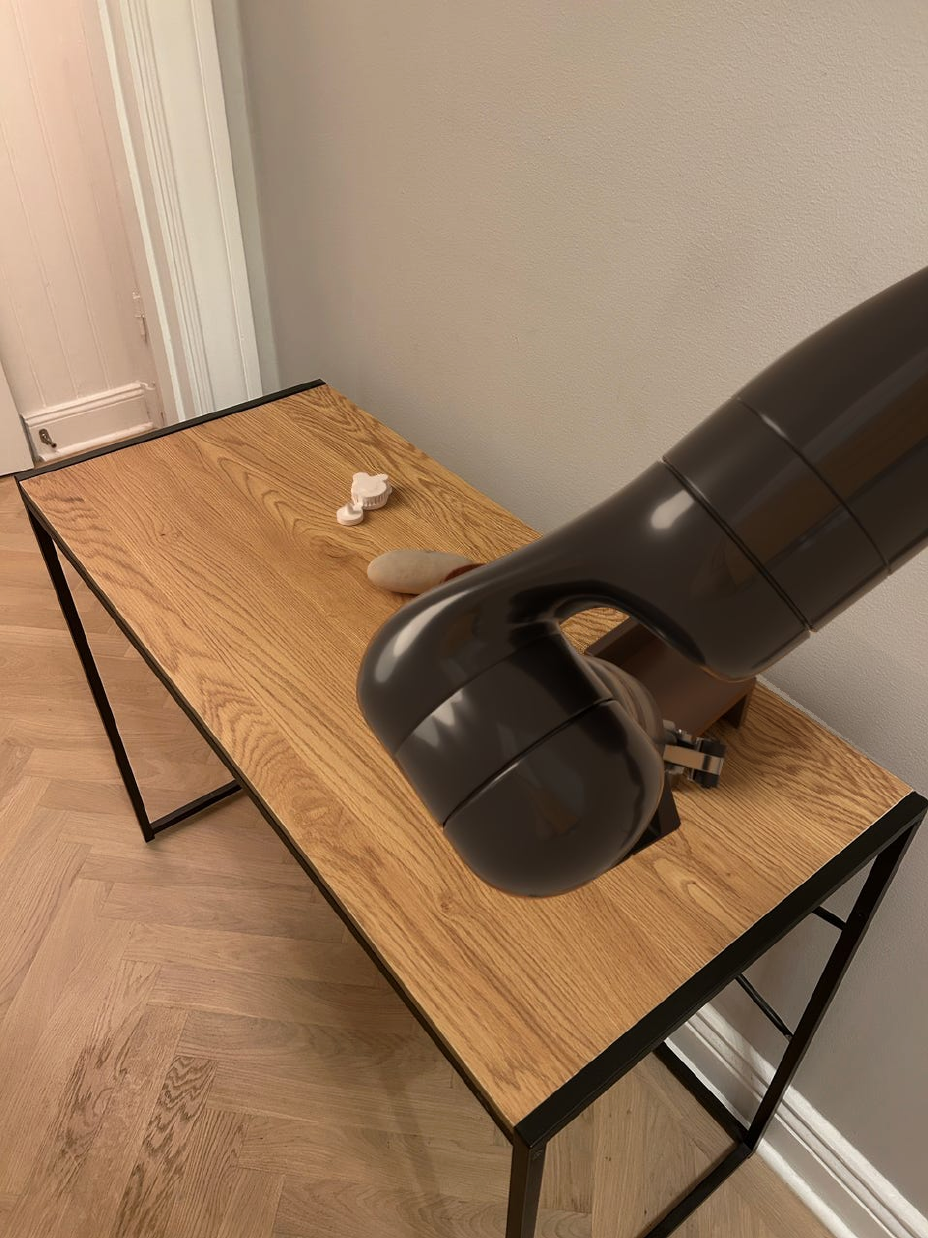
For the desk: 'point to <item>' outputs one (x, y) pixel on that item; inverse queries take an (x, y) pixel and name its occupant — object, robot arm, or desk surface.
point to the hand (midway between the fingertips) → (618, 734)
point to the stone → (413, 569)
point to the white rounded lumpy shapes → (364, 497)
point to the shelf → (673, 681)
